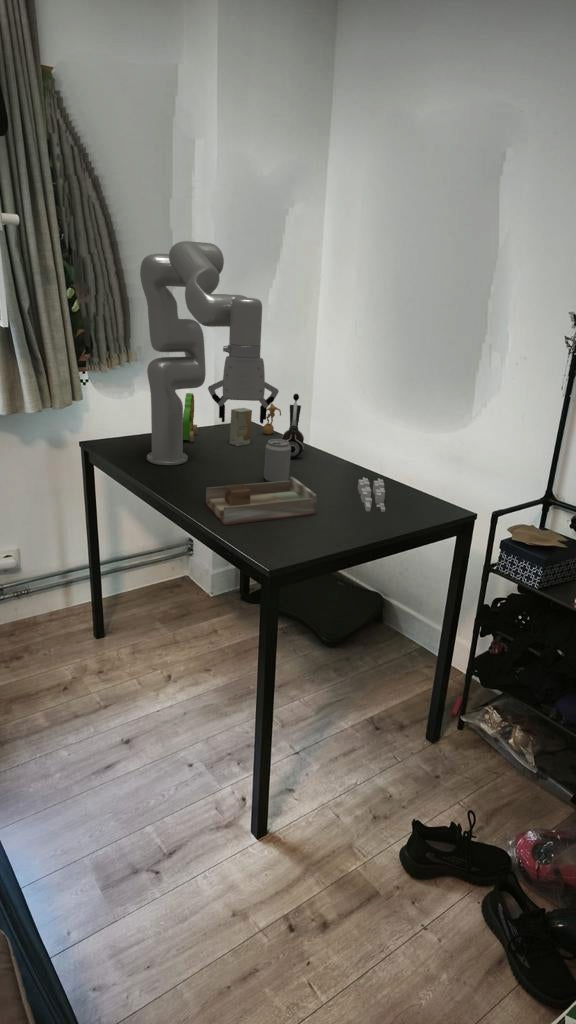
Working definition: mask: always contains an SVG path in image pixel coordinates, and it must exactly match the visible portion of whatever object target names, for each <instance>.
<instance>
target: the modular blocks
mask: <svg viewBox="0 0 576 1024" xmlns="http://www.w3.org/2000/svg"><path fill="white" fill-rule="evenodd" d="M357 491H358V494H359V495H360V499H361V503H363V504H364V505H363V506H364V508H365V511H366V512H371V508H372V503H373V499H372V497H371V496H372V492H373V495H374V500H375V502H374V503H375V504H376V508H379V509H380V513H385V512H386V507H385V496H386V491H385V483H384V480H383V479H382V478H381V479H380V478H379V477H378V478H377V480H373V485H372V489H371V487H370V481H369V479H368V478H365V477H362V479H358V484H357Z"/></svg>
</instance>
